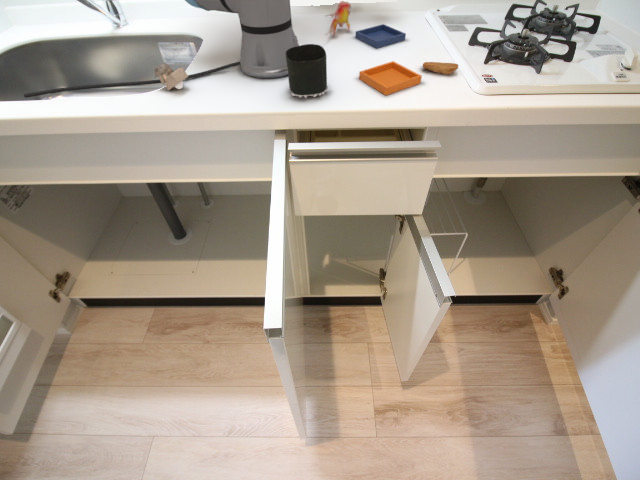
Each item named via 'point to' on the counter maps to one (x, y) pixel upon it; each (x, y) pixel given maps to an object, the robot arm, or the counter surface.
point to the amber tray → (390, 77)
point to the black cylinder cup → (307, 70)
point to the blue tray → (380, 36)
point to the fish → (340, 17)
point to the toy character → (170, 76)
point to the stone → (440, 67)
